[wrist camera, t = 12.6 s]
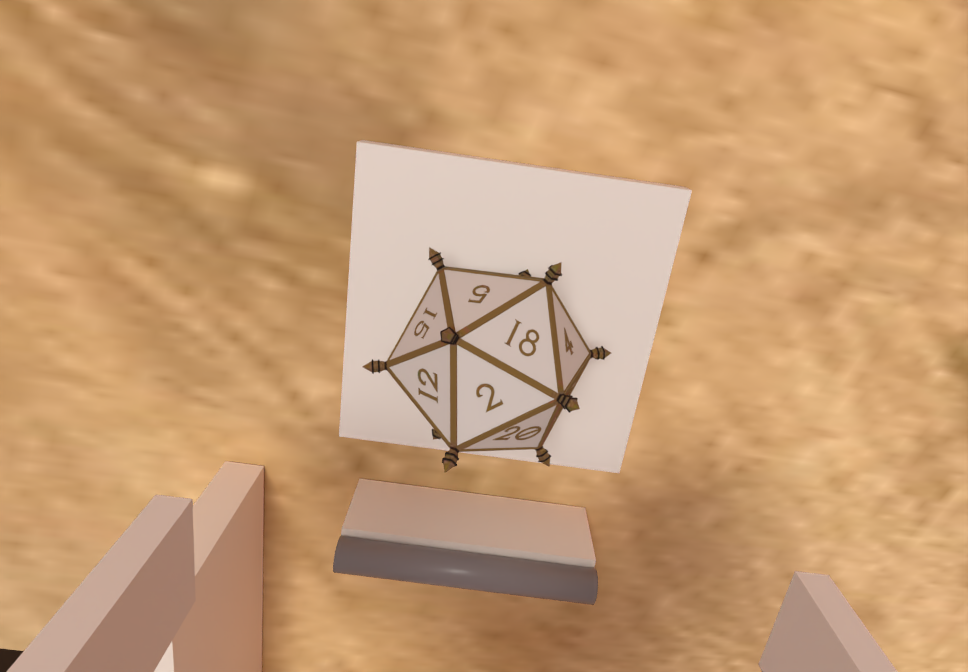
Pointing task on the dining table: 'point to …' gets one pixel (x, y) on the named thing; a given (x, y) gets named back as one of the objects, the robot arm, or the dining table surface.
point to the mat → (507, 249)
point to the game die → (490, 359)
